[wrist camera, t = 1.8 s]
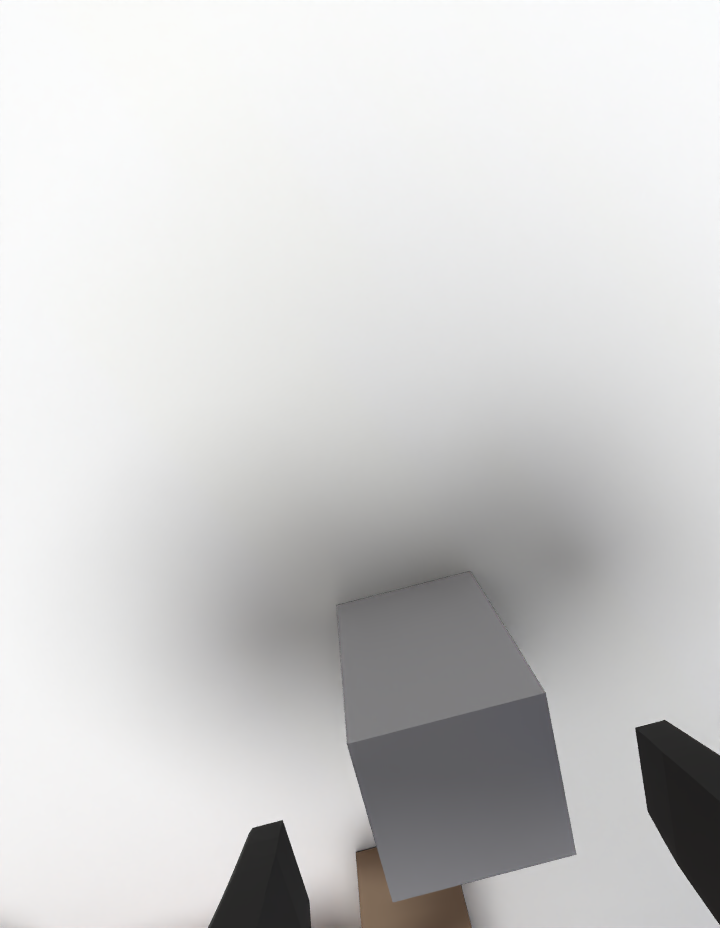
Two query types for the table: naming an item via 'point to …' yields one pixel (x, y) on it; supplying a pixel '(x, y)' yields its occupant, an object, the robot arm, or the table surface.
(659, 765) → the robot arm
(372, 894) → the frame
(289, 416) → the table surface
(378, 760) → the stone
